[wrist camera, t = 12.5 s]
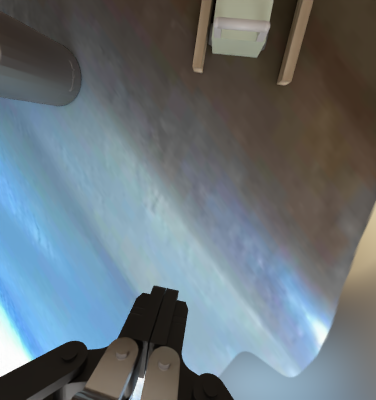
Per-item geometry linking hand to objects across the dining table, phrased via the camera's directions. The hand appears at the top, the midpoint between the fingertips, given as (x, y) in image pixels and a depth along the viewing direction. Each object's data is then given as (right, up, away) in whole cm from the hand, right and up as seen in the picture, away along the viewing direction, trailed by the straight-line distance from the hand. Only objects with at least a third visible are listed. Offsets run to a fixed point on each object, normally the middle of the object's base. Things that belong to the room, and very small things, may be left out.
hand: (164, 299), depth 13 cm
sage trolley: (+9, +32, +18) cm, 37 cm away
